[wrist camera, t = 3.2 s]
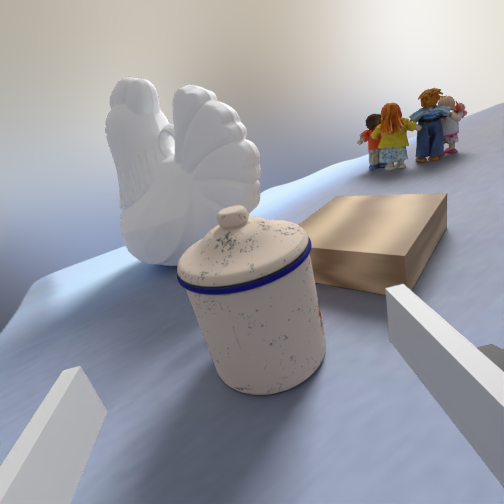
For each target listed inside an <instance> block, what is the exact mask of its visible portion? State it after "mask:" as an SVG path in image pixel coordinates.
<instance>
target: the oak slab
mask: <svg viewBox="0 0 504 504" xmlns="http://www.w3.org/2000/svg"><path fill="white" fill-rule="evenodd" d="M299 226H300V227H302V228H303V229H304V230H305V231H306V233H307V235H308V236H309V238H310V240H311V244H312V247H311V251H310V259H311V264H312V270H313V275H314V280H315V283H320V284H326V285H331V286H337V287H343V288H349V289H354V290H360V291H366V292H372V293H377V294H383V295H386V290H385V288H389V287H393V286H397V285H401V284H404V285H405V286H406V287H407V288H409V289H410V290H411V291H412V289H413V287H414V285H415V284H416V282H417V280H418V278H419V276H420V275H421V273H422V271H423V269H424V267H425V266H426V264H427V262H428V260H429V258H430V257H431V255H432V253H433V251H434V249H435V248H436V246H437V244H438V242H439V240H440V238H441V237H442V235H443V233H444V231H445V229H446V228H447V193H435V194H403V195H371V196H339V197H335V198H334V199H333V200H331V201H330V202H329V203H327V204H326V205H325V206H323V207H322V208H320V209H319V210H318V211H316V212H315V213H314V214H312V215H311V216H310V217H308V218H307V219H306V220H304V221H303V222H302V223H300V224H299Z"/></svg>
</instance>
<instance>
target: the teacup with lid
mask: <svg viewBox="0 0 504 504" xmlns="http://www.w3.org/2000/svg"><path fill="white" fill-rule="evenodd" d="M217 221H218V224H219V225H218V226H216V227H214V228H213V229H212V230H210V231H209V232H208V233H207V234H206V235H205V237H204V238H203V239H201V240H199V241H198V242H196V243H195V244H193V245H192V246H191V247H189V248H188V249H187V250H186V251H185V252H184V253H183V255H182V256H181V258H180V259H179V262H178V266H177V279H178V281H179V283H180V285H181V286H182V287H184V288H185V289H186V291H187V294H188V297H189V299H190V302H191V305H192V307H193V310H194V312H195V315H196V318H197V320H198V323H199V326H200V328H201V331H202V334H203V336H204V339H205V341H206V344H207V347H208V349H209V352H210V355H211V357H212V360H213V362H214V365H215V368H216V370H217V373H218V375H219V376H220V378H221V379H222V380H223V381H224V382H225V383H226V384H227V385H228V386H230V387H231V388H233V389H235V390H237V391H239V392H243V393H247V394H253V395H268V394H275V393H279V392H282V391H285V390H288V389H291V388H293V387H295V386H297V385H299V384H300V383H302V382H303V381H305V380H306V379H307V378H308V377H310V376H311V375H312V374H313V373H314V372H315V371H316V369H317V368H318V367H319V365H320V363H321V362H322V360H323V357H324V354H325V350H326V339H325V334H324V328H323V323H322V318H321V312H320V307H319V302H318V296H317V291H316V286H315V280H314V275H313V270H312V264H311V259H310V251H311V247H312V244H311V240H310V238H309V236H308V235H307V233H306V231H305V230H304V229H303V228H302V227H300V226H299V225H297V224H295V223H292V222H289V221H283V220H267V219H264V218H261V217H249V216H248V212H247V209H246V208H245V207H244V206H241V205H236V206H231V207H227V208H225V209H223V210H221V211H219V212H218V214H217Z"/></svg>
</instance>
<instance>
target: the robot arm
mask: <svg viewBox="0 0 504 504" xmlns="http://www.w3.org/2000/svg"><path fill="white" fill-rule="evenodd" d="M385 290H386V303H387V315H388V328H389V340H390V342H391V343H392V344H393V346H394V347H395V348H396V349H397V351H398V352H399V353H400V355H401V356H402V357H403V358H404V360H405V361H406V362H407V364H408V365H409V366H410V368H411V369H412V370H413V371H414V373H415V374H416V375H417V377H418V378H419V379H420V380H421V382H422V383H423V384H424V386H425V387H426V388H427V389H428V391H429V392H430V393H431V395H432V396H433V397H434V398H435V400H436V401H437V402H438V404H439V405H440V406H441V407H442V409H443V410H444V411H445V413H446V414H447V415H448V416H449V418H450V419H451V420H452V422H453V423H454V424H455V425H456V427H457V428H458V429H459V431H460V432H461V433H462V435H463V436H464V437H465V438H466V440H467V441H468V442H469V444H470V445H471V446H472V447H473V449H474V450H475V451H476V453H477V454H478V455H479V456H480V458H481V459H482V460H483V462H484V463H485V464H486V465H487V467H488V468H489V469H490V471H491V472H492V473H493V474H494V476H495V477H496V478H497V480H498V481H499V482H500V483H501V485H502V486H503V487H504V349H501V348H499V347H497V346H495V345H493V344H489V345H485V346H481V347H477V348H476V347H475V346H474V345H472V344H471V343H470V342H469V341H468V340H467V339H466V338H465V337H463V336H462V335H461V334H460V333H459V332H458V331H457V330H455V329H454V328H453V327H452V326H451V325H450V324H449V323H447V322H446V321H445V320H444V319H443V318H442V317H441V316H439V315H438V314H437V313H436V312H435V311H434V310H433V309H431V308H430V307H429V306H428V305H427V304H426V303H425V302H423V301H422V300H421V299H420V298H419V297H418V296H417V295H415V294H414V293H413V292H412V291H411V290H410V289H409V288H407V287H406V286H405V285H404V284H401V285H397V286H393V287H389V288H385ZM107 412H108V411H107V410H106V408H105V406H104V405H103V403H102V401H101V400H100V398H99V396H98V394H97V393H96V391H95V389H94V388H93V386H92V384H91V383H90V381H89V379H88V377H87V376H86V374H85V372H84V371H83V369H82V367H81V366H78V367H74V368H70V369H66V370H63V371H62V373H61V374H60V376H59V377H58V379H57V380H56V382H55V383H54V385H53V386H52V388H51V389H50V391H49V393H48V394H47V396H46V397H45V399H44V400H43V402H42V403H41V405H40V406H39V408H38V409H37V411H36V413H35V414H34V416H33V417H32V419H31V420H30V422H29V423H28V425H27V426H26V428H25V429H24V431H23V433H22V434H21V436H20V437H19V439H18V440H17V442H16V443H15V445H14V446H13V448H12V449H11V451H10V452H9V454H8V456H7V457H6V459H5V460H4V462H3V463H2V465H1V466H0V504H71V502H72V499H73V497H74V494H75V492H76V489H77V487H78V484H79V482H80V479H81V477H82V474H83V472H84V469H85V467H86V464H87V462H88V459H89V457H90V454H91V452H92V449H93V447H94V444H95V442H96V439H97V437H98V434H99V432H100V429H101V427H102V424H103V422H104V419H105V417H106V414H107Z"/></svg>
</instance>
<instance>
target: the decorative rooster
mask: <svg viewBox="0 0 504 504" xmlns="http://www.w3.org/2000/svg"><path fill="white" fill-rule="evenodd" d="M110 106H111V111H110V112H109V114H108V116H107V119H106V126H107V127H106V128H105V131H106V134H107V140H108V144H109V147H110V150H111V153H112V156H113V159H114V162H115V166H116V170H117V174H118V180H119V192H120V208H121V209H123V210H122V213H121V234H122V238H123V240H124V243H125V245H126V247H127V249H128V251H129V252H130V253H131V254H132V255H133V256H134V257H136V258H137V259H138V260H140V261H142V262H144V263H147V264H151V265H156V264H161V265H166V266H178V262H179V259H180V258H181V256H182V255H183V253H184V252H185V251H186V250H187V249H188V248H189V247H191V246H192V245H193V244H195V243H196V242H198V241H199V240H201V239H203V238H204V237H205V235H206V234H207V233H208V232H209V231H210V230H212V229H213V228H214V227H216V226H218V225H219V224H218V221H217V214H218V212H219V211H221V210H223V209H225V208H227V207H231V206H236V205H241V206H244V207H245V208H246V209H247V212H248V216H249V213H250V212H252V211H253V210H254V209H255V208H256V207H257V205H258V204H259V201H260V192H259V190H260V183H259V181H258V180H257V179H258V178H259V177H260V175H261V167H260V164H259V162H260V154H259V151H258V149H257V147H256V146H255V145H254V143H252V142H251V141H249V140H246V139H245V138H246V136H247V130H246V128H245V126H244V125H243V124H242V123H241V121H240V118H239V115H238V113H237V112H236V111H235V110H234V109H233V108H231V107H230V106H228V105H227V104H225V103H222V102H218V99H217V97H216V95H215V93H214V92H212V91H209V90H205V89H204V88H202V87H198V86H194V85H187V86H184V87H182V88H179V89H178V90H177V91H176V92H175V95H174V99H173V120H174V125H173V124H169V123H168V120H167V119H166V117H165V115H164V114H163V112H162V111H161V110H160V104H159V97H158V93H157V90H156V89H155V87H154V85H153V84H152V83H151V82H149V81H148V80H145V79H142V78H139V79H136V78H132V77H126V78H123V79H121V80H120V81H119V82H118V83H117V85H116V86H115V88H114V89H113V91H112V94H111V96H110Z"/></svg>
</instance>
